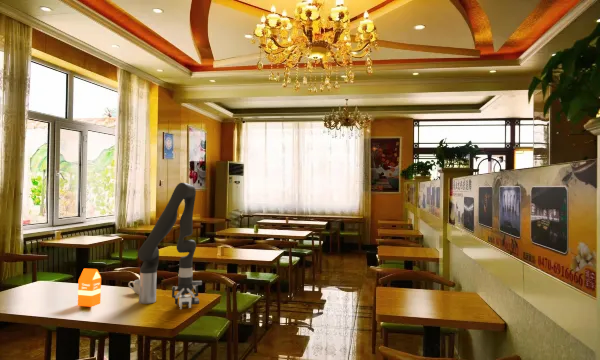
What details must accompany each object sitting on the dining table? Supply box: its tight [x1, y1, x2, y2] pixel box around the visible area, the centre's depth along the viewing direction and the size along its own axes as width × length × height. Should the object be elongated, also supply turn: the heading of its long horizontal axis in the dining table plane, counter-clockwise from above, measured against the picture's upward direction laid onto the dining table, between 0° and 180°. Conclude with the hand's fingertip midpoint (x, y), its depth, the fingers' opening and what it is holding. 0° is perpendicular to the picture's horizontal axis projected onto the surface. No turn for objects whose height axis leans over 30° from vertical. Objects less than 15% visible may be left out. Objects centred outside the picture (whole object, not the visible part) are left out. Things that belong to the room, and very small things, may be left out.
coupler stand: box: [180, 280, 203, 305], centre depth 249 cm, size 12×8×12 cm
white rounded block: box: [178, 293, 192, 310], centre depth 239 cm, size 9×6×6 cm
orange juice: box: [77, 268, 102, 308], centre depth 239 cm, size 8×9×20 cm
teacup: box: [127, 278, 140, 295], centre depth 266 cm, size 14×11×8 cm
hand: (184, 304), depth 238 cm, fingers open, 8 cm apart
